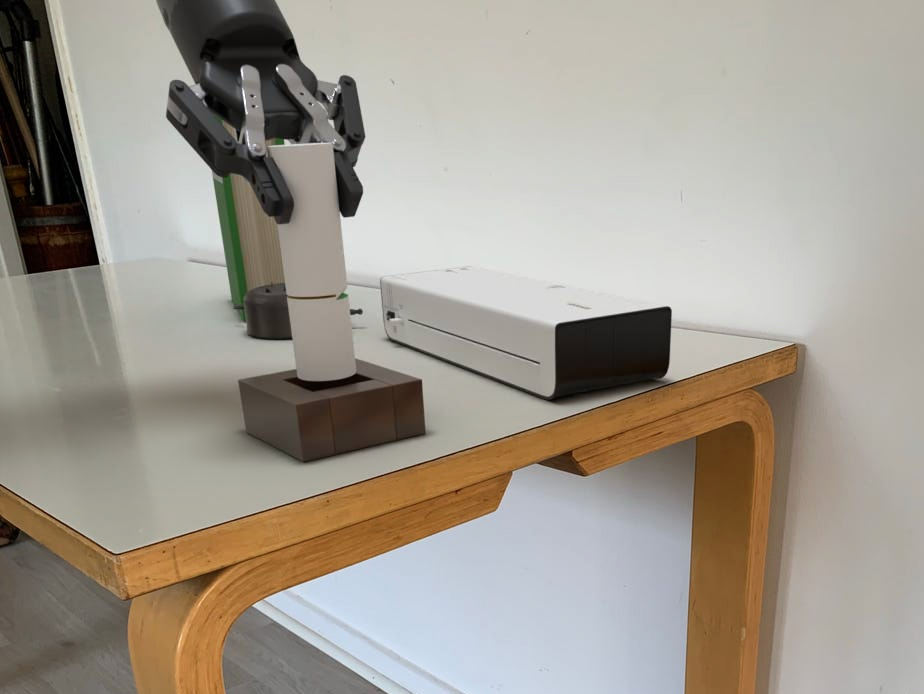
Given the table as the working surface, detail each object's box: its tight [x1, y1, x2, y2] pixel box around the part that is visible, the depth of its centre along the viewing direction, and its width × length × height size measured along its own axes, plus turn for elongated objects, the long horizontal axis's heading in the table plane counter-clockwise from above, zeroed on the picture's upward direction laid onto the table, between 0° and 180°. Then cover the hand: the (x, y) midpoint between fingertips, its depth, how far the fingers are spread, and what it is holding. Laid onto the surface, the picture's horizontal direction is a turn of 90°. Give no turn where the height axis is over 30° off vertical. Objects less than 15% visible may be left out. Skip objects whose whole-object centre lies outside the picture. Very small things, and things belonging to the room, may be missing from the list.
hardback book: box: [211, 113, 286, 323], centre depth 121 cm, size 18×7×24 cm, turn 17°
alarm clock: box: [232, 282, 364, 340], centre depth 112 cm, size 11×5×16 cm
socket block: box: [237, 357, 427, 463], centre depth 73 cm, size 10×10×4 cm
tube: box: [267, 142, 356, 381], centre depth 69 cm, size 4×4×15 cm
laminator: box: [379, 265, 673, 401], centre depth 92 cm, size 34×12×6 cm, turn 29°
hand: (320, 210), depth 65 cm, fingers closed on tube, 4 cm apart
